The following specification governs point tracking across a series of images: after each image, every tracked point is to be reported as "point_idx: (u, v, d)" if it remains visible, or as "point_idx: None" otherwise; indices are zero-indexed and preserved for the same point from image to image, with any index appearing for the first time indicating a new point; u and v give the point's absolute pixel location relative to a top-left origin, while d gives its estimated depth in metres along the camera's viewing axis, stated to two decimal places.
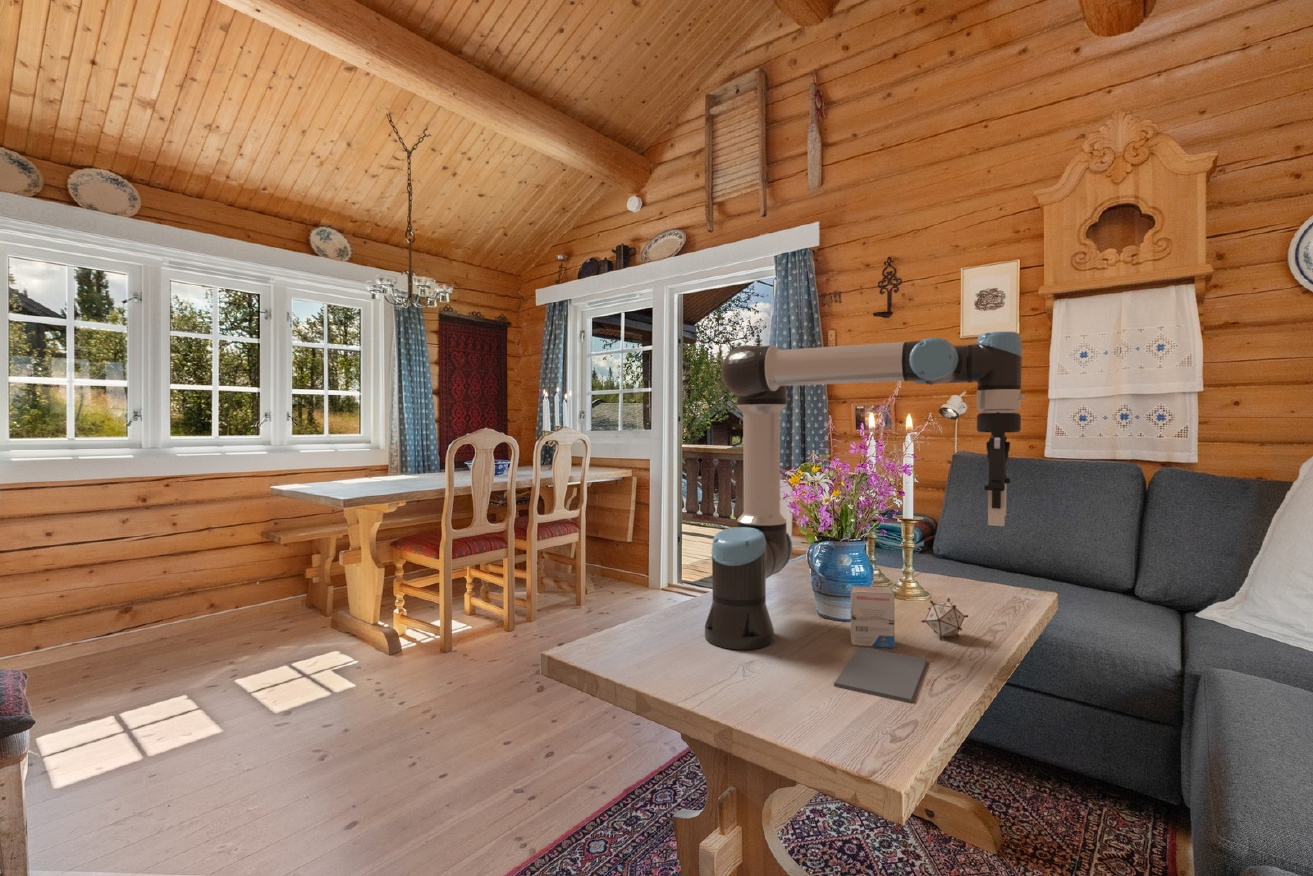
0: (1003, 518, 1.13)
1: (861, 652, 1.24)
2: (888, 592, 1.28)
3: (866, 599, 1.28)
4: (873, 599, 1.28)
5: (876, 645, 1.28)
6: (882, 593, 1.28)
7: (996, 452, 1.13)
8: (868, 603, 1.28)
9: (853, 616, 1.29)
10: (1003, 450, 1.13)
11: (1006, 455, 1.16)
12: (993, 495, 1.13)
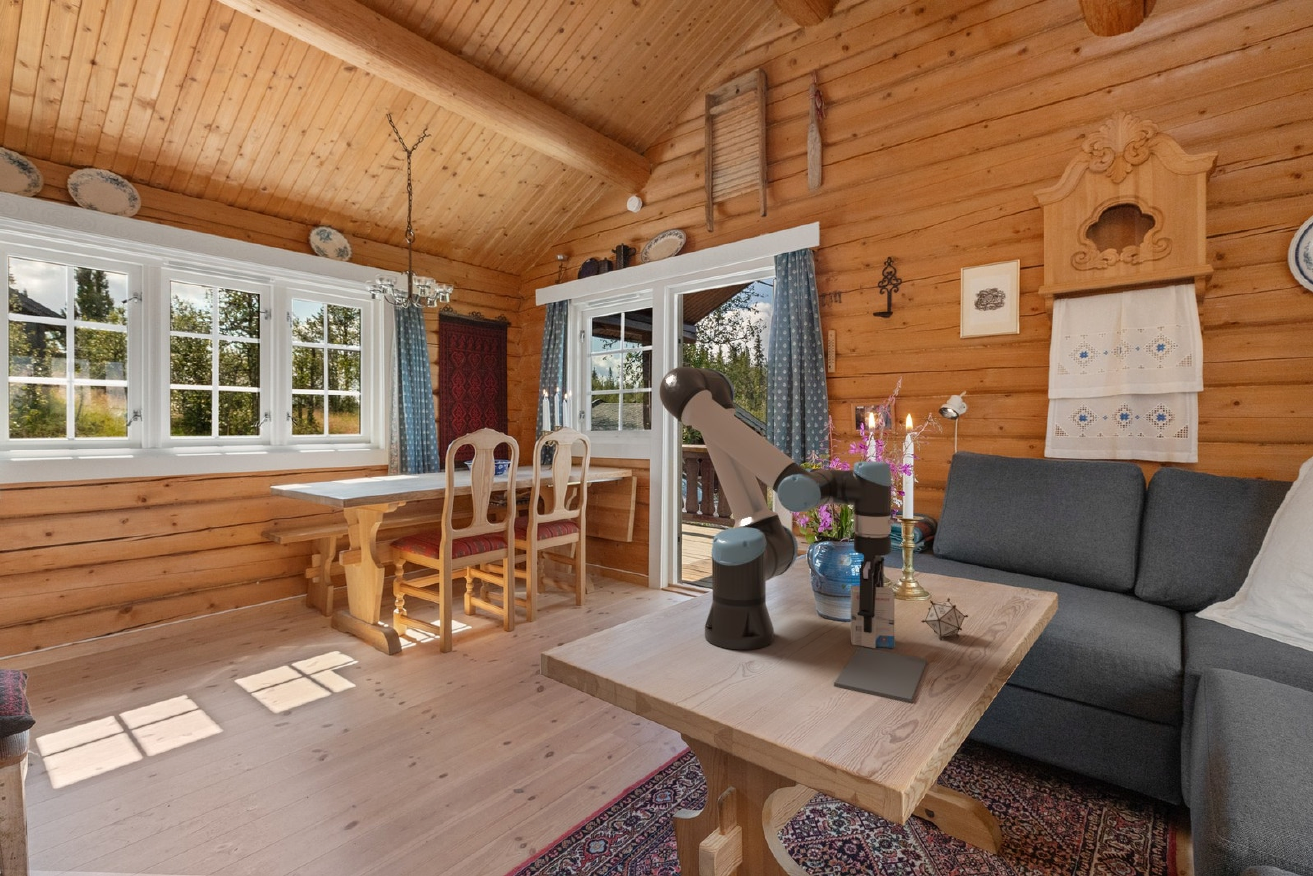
0: (873, 641, 1.27)
1: (861, 652, 1.24)
2: (888, 592, 1.28)
3: None
4: None
5: (876, 645, 1.28)
6: (882, 593, 1.28)
7: (865, 582, 1.25)
8: None
9: (853, 616, 1.29)
10: (871, 581, 1.24)
11: (876, 579, 1.27)
12: (864, 621, 1.26)
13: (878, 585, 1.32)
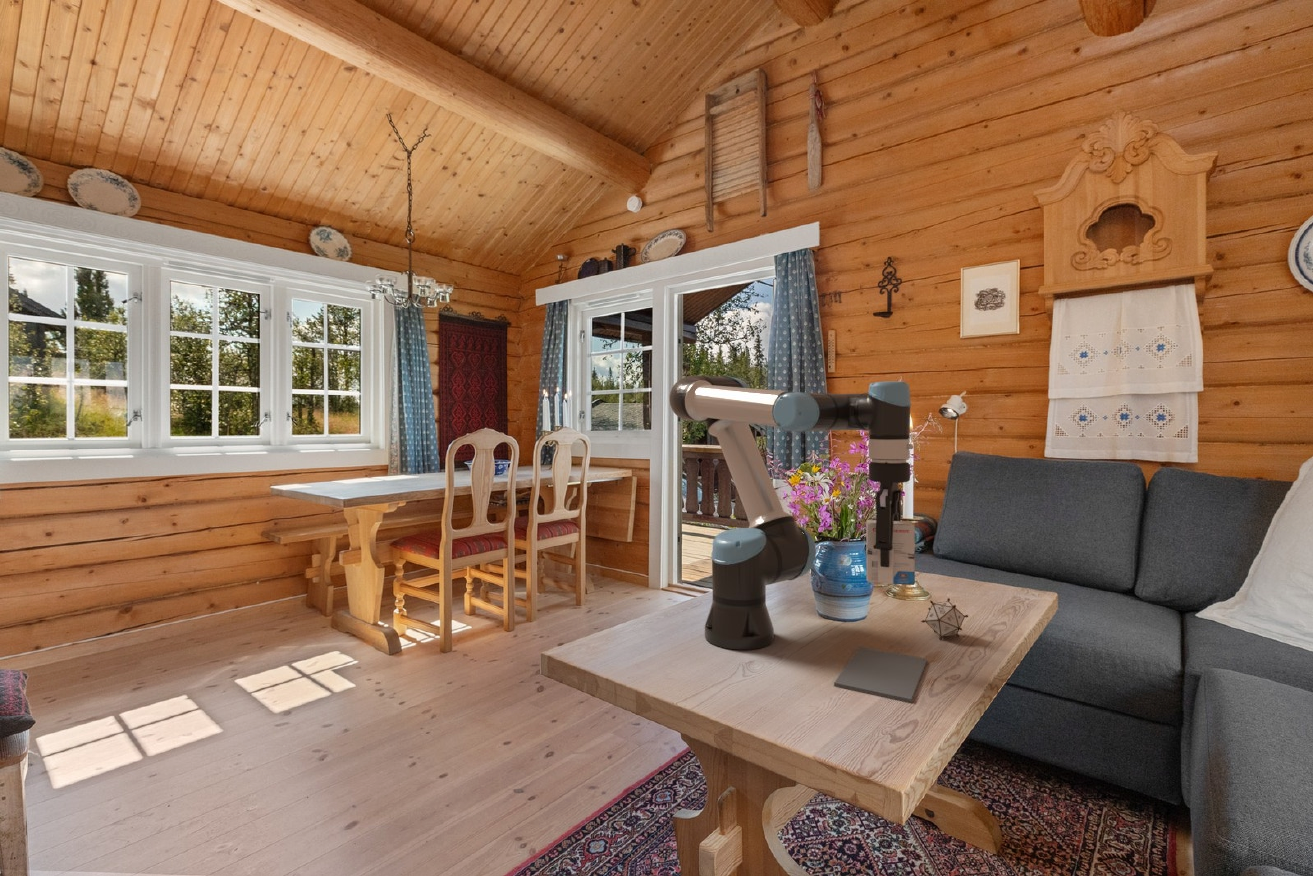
0: (891, 576, 1.16)
1: (861, 652, 1.24)
2: (907, 523, 1.16)
3: None
4: None
5: (894, 582, 1.17)
6: (901, 524, 1.16)
7: (882, 511, 1.14)
8: None
9: (869, 550, 1.18)
10: (888, 509, 1.13)
11: (894, 509, 1.16)
12: (881, 554, 1.15)
13: (895, 518, 1.20)
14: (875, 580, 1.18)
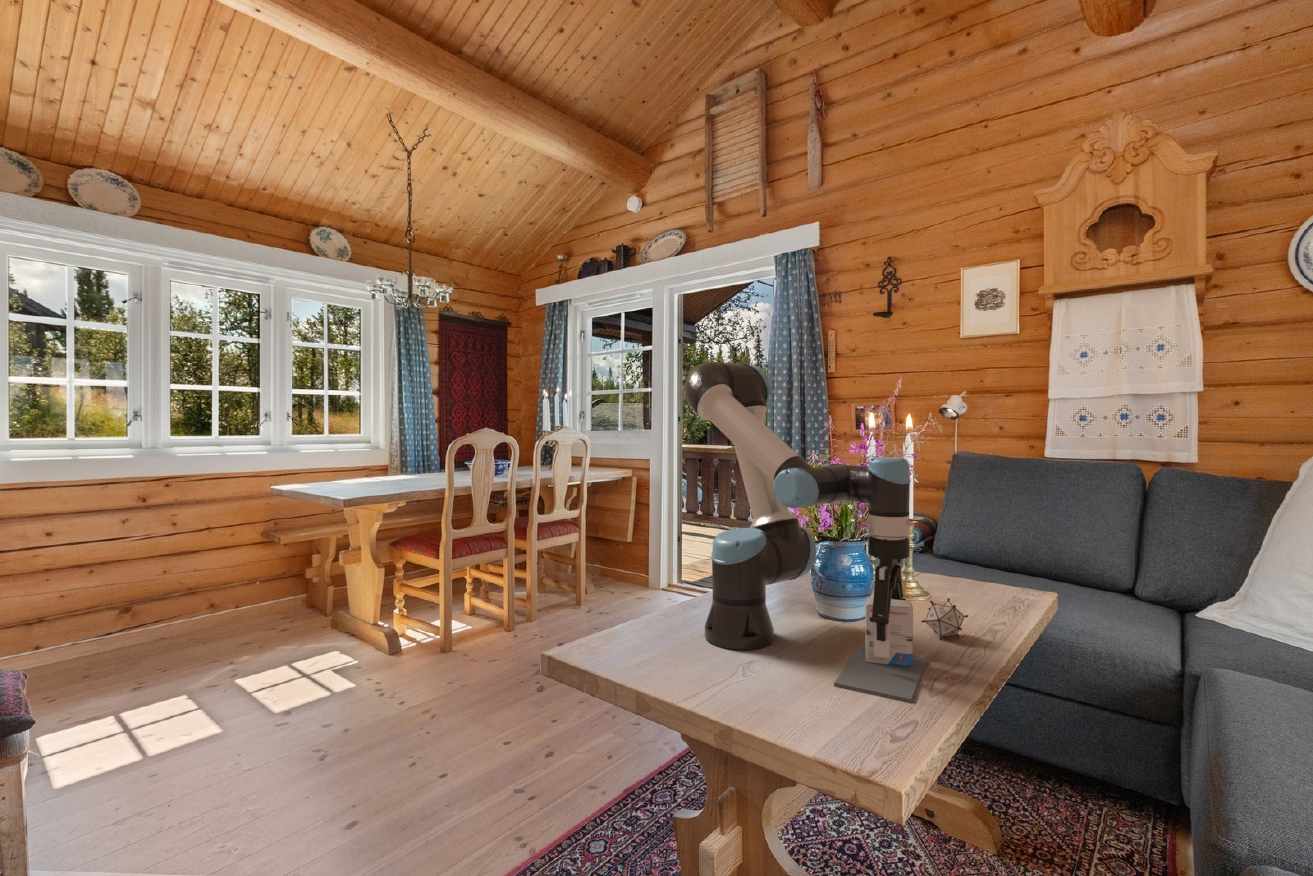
0: (887, 650, 1.14)
1: (861, 652, 1.24)
2: (906, 606, 1.17)
3: None
4: (889, 613, 1.17)
5: (892, 663, 1.17)
6: (899, 606, 1.16)
7: (881, 584, 1.13)
8: None
9: (867, 631, 1.19)
10: (887, 582, 1.13)
11: (893, 584, 1.16)
12: (877, 628, 1.13)
13: (896, 587, 1.22)
14: (873, 660, 1.18)
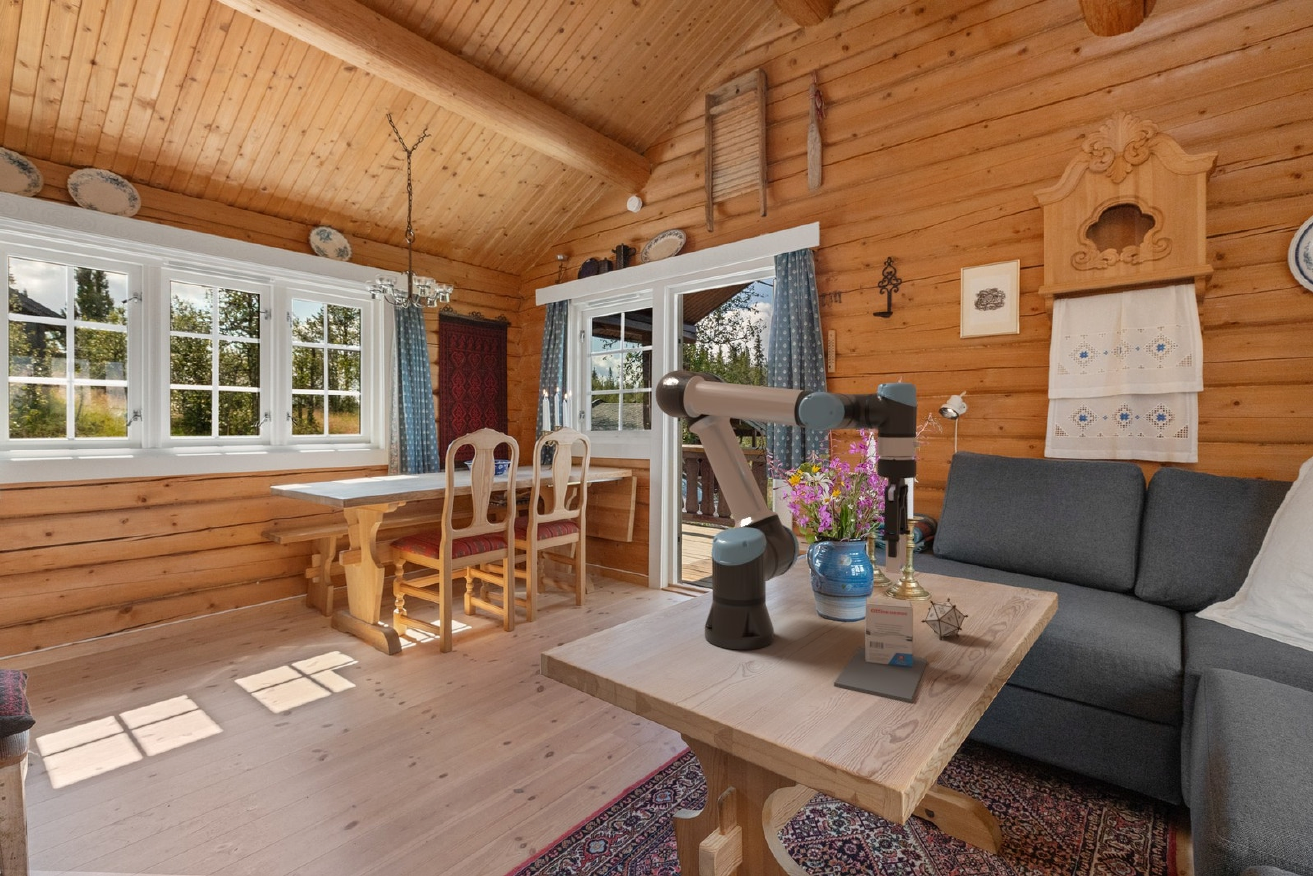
0: (898, 566, 1.23)
1: (861, 652, 1.24)
2: (906, 606, 1.17)
3: (881, 612, 1.17)
4: (889, 613, 1.17)
5: (892, 663, 1.17)
6: (899, 606, 1.16)
7: (890, 504, 1.21)
8: (883, 617, 1.17)
9: (867, 631, 1.19)
10: (896, 503, 1.20)
11: (901, 503, 1.23)
12: (889, 545, 1.22)
13: (902, 511, 1.28)
14: (873, 660, 1.18)
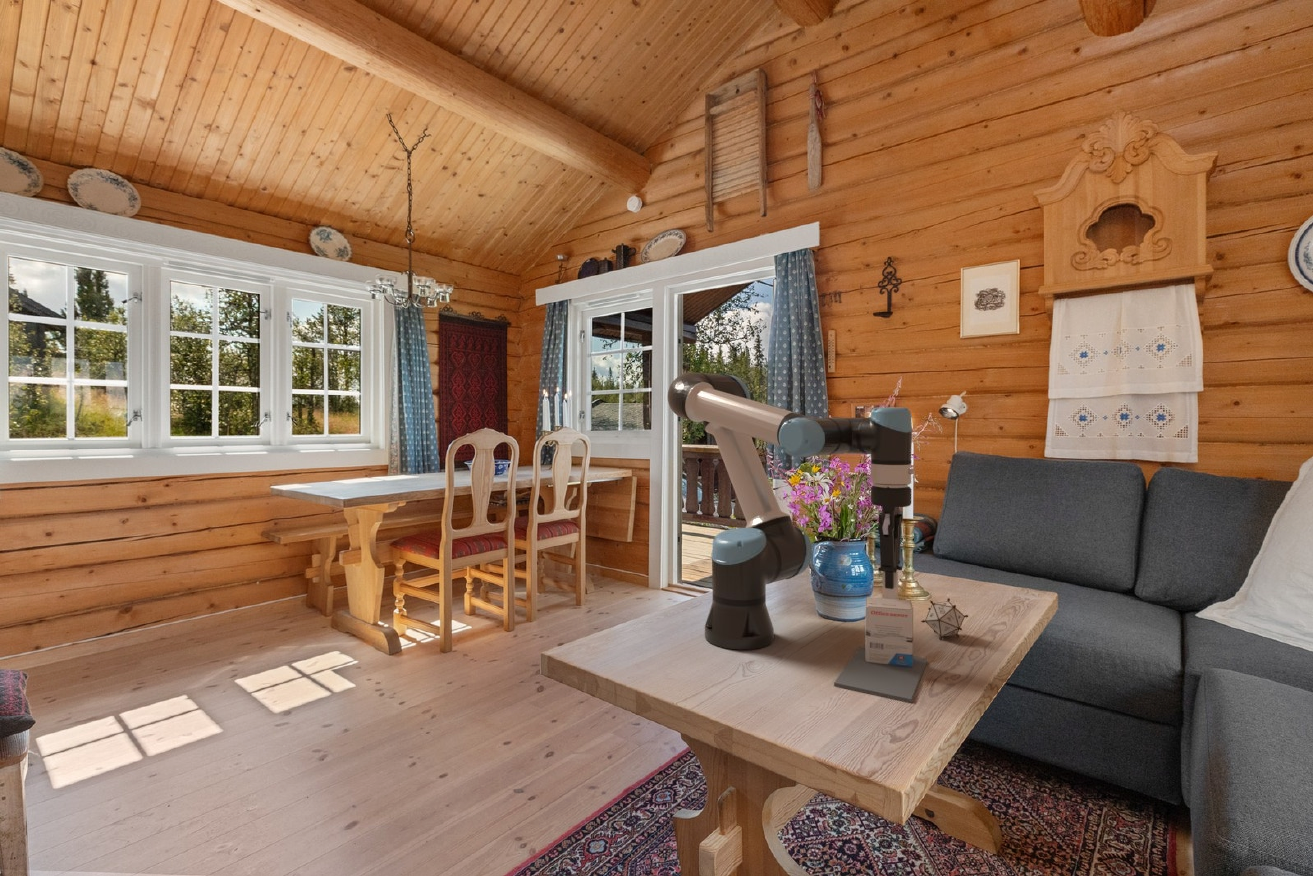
0: (895, 597, 1.20)
1: (861, 652, 1.24)
2: (906, 607, 1.15)
3: (881, 614, 1.16)
4: (889, 615, 1.16)
5: (892, 663, 1.17)
6: (899, 609, 1.15)
7: (885, 539, 1.16)
8: (884, 619, 1.16)
9: (867, 632, 1.18)
10: (891, 537, 1.16)
11: (897, 534, 1.19)
12: (886, 576, 1.20)
13: (895, 542, 1.21)
14: (873, 660, 1.18)
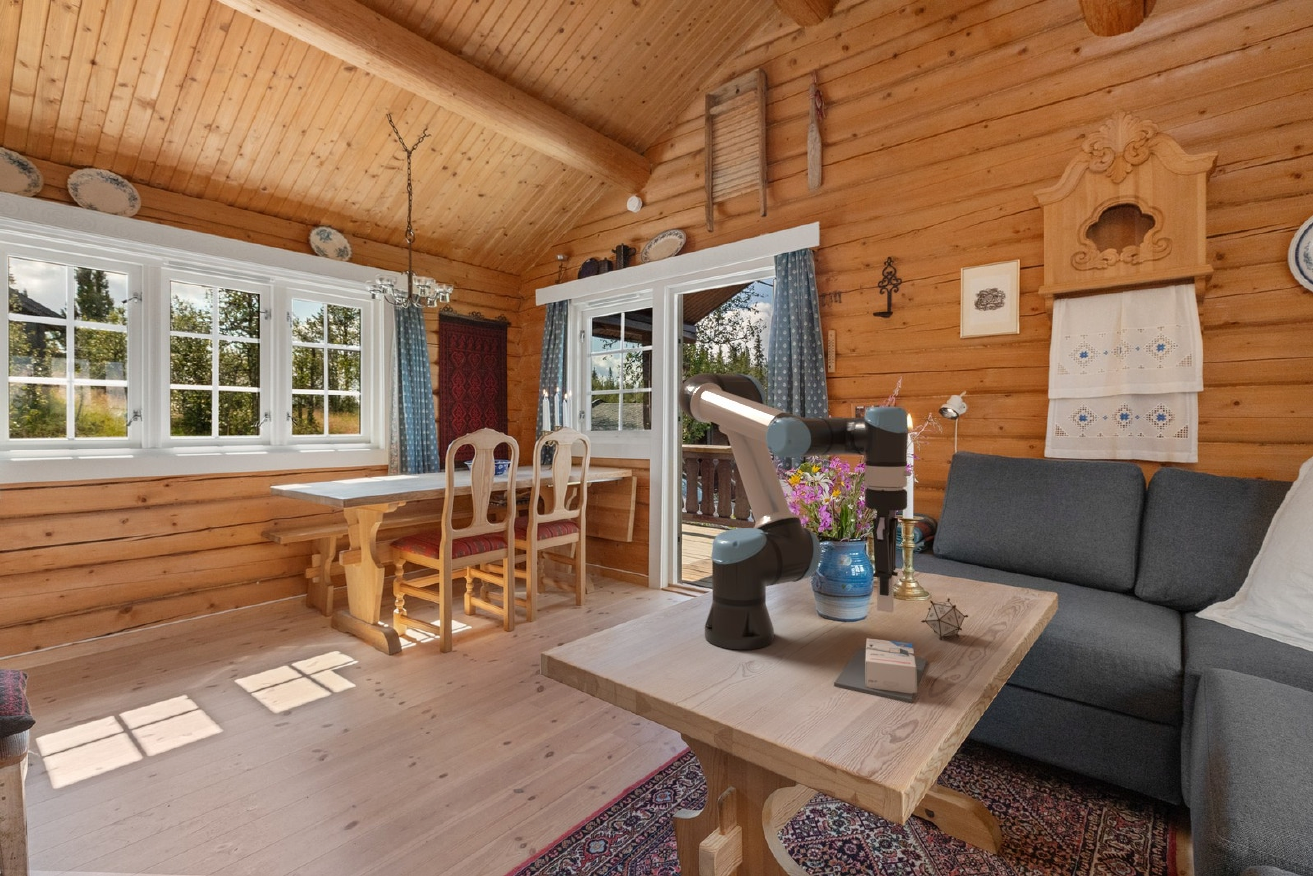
0: (890, 604, 1.16)
1: (861, 652, 1.24)
2: (910, 690, 1.05)
3: None
4: None
5: None
6: (902, 691, 1.06)
7: (880, 543, 1.12)
8: None
9: None
10: (886, 542, 1.11)
11: (892, 538, 1.14)
12: (881, 582, 1.15)
13: None
14: None
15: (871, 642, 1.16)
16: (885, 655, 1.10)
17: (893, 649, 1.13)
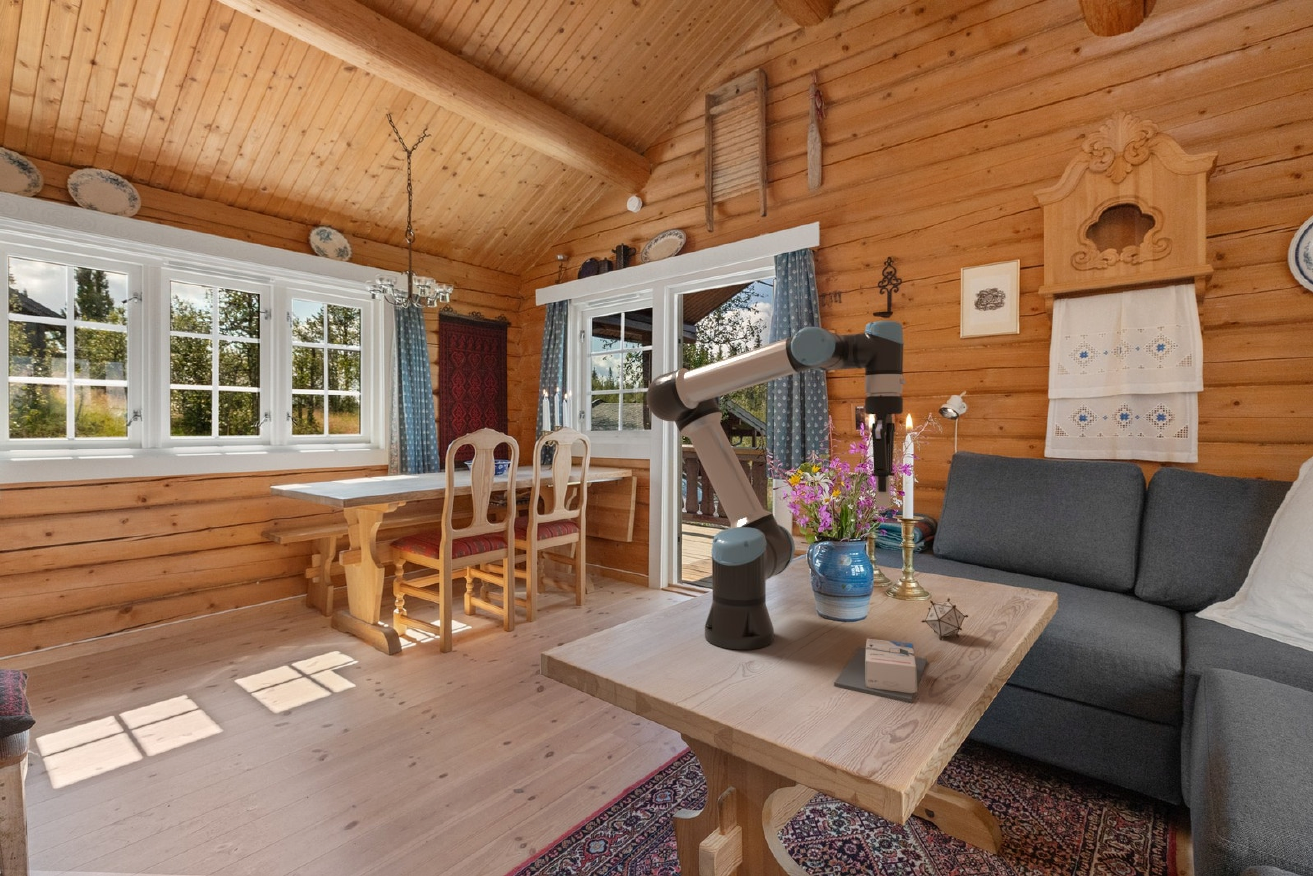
0: (888, 500, 1.28)
1: (861, 652, 1.24)
2: (910, 689, 1.05)
3: None
4: None
5: None
6: (902, 691, 1.06)
7: (878, 443, 1.25)
8: None
9: None
10: (884, 441, 1.24)
11: (889, 440, 1.27)
12: (879, 480, 1.28)
13: None
14: None
15: (870, 642, 1.16)
16: (885, 655, 1.10)
17: (893, 649, 1.13)
